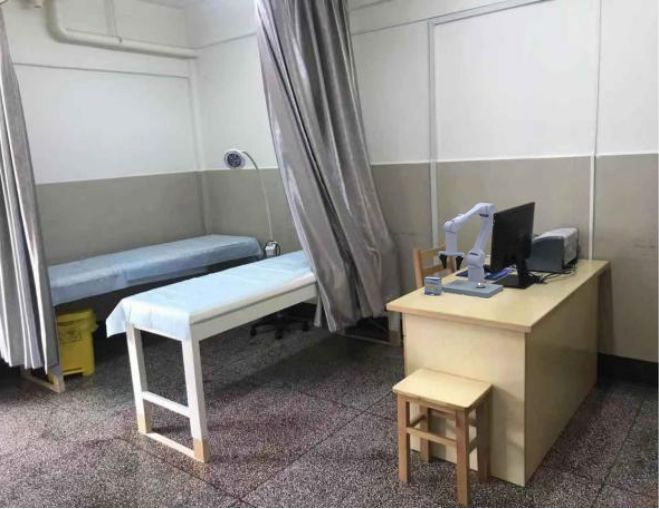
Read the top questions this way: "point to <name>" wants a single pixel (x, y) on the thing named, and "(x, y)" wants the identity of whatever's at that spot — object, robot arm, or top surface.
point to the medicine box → (433, 285)
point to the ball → (479, 285)
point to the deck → (472, 288)
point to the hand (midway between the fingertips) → (451, 269)
